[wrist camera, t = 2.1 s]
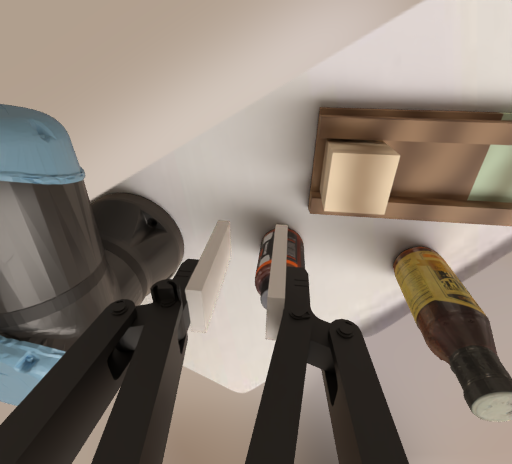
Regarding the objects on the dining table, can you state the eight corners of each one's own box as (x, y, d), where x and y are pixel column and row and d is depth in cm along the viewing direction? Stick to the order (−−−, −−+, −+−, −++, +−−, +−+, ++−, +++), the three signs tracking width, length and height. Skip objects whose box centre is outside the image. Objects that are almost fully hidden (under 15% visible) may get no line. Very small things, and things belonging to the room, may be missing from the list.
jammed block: (319, 189, 35) (324, 211, 29) (326, 138, 31) (332, 152, 26) (370, 192, 34) (384, 214, 29) (382, 140, 31) (400, 155, 26)
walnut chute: (308, 207, 37) (309, 217, 35) (319, 107, 31) (322, 111, 28) (506, 219, 35) (523, 231, 32) (561, 114, 29) (587, 119, 26)
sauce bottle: (448, 263, 39) (569, 418, 22) (407, 286, 42) (485, 440, 25) (421, 233, 37) (530, 376, 20) (380, 259, 40) (444, 405, 23)
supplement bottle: (256, 230, 40) (243, 284, 30) (297, 221, 38) (299, 274, 29) (268, 264, 43) (260, 323, 33) (307, 257, 41) (312, 316, 31)
